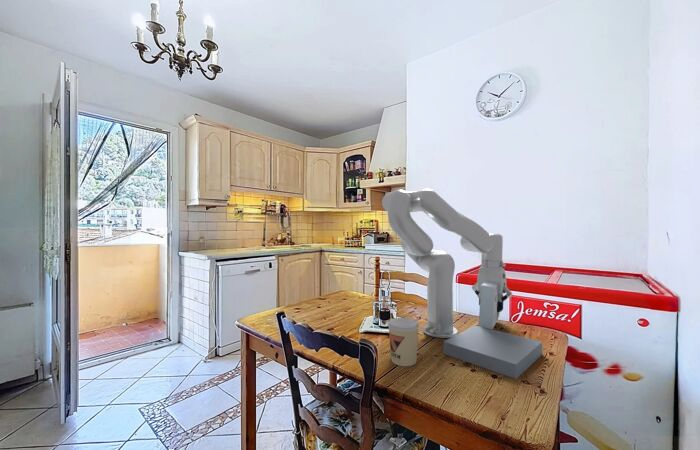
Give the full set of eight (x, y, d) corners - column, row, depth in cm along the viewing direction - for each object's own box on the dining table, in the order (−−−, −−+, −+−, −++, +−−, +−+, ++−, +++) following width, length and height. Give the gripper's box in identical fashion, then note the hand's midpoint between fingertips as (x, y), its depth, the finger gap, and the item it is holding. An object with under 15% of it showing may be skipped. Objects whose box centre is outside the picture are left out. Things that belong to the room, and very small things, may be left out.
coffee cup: (383, 357, 97) (382, 320, 97) (407, 351, 101) (407, 315, 101) (399, 370, 89) (398, 329, 88) (425, 363, 92) (424, 324, 92)
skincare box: (494, 330, 111) (494, 286, 111) (478, 327, 114) (478, 285, 114) (501, 316, 129) (501, 278, 129) (487, 313, 132) (487, 277, 132)
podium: (516, 379, 83) (516, 364, 82) (443, 353, 99) (443, 341, 99) (542, 354, 97) (542, 341, 97) (475, 335, 114) (475, 325, 114)
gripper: (518, 266, 117) (517, 312, 117) (475, 261, 130) (474, 303, 130) (510, 267, 112) (509, 316, 112) (466, 262, 125) (465, 306, 125)
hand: (490, 309), depth 121 cm, fingers closed on skincare box, 6 cm apart
